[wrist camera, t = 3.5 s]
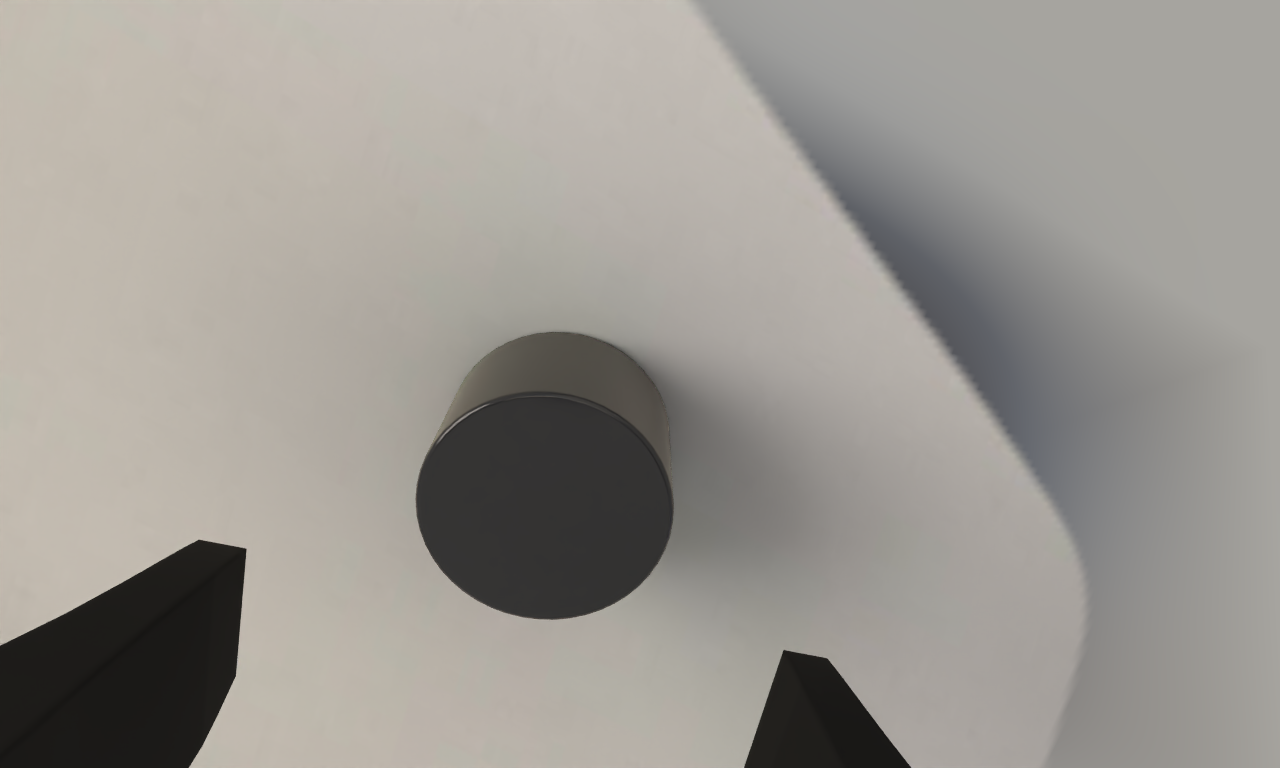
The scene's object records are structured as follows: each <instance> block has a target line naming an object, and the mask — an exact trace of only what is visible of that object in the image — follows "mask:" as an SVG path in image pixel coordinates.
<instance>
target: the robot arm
mask: <svg viewBox="0 0 1280 768" xmlns="http://www.w3.org/2000/svg"><path fill="white" fill-rule="evenodd" d="M245 560H246V549H245V548H240V547H235V546H229V545H224V544H219V543H214V542H208V541H203V540H198V541H196V542H194V543H192V544H190V545H188V546H186V547H184V548H183V549H181V550H179V551H177V552H175V553H174V554H172V555H170V556H168V557H166V558H165V559H163V560H161V561H159V562H158V563H156V564H154V565H152V566H151V567H149V568H147V569H145V570H144V571H142V572H140V573H138V574H137V575H135V576H133V577H131V578H130V579H128V580H126V581H124V582H123V583H121V584H119V585H117V586H115V587H113V588H112V589H110V590H108V591H106V592H104V593H102V594H101V595H99V596H97V597H95V598H93V599H91V600H90V601H88V602H86V603H84V604H82V605H80V606H79V607H77V608H75V609H73V610H71V611H69V612H68V613H66V614H64V615H62V616H60V617H58V618H56V619H54V620H52V621H50V622H48V623H46V624H44V625H41V626H39V627H37V628H35V629H33V630H31V631H29V632H27V633H25V634H23V635H21V636H19V637H17V638H15V639H13V640H11V641H9V642H7V643H5V644H3V645H1V646H0V768H189V766H190V765H191V763H192V762H193V760H194V758H195V757H196V755H197V754H198V752H199V750H200V749H201V747H202V745H203V743H204V741H205V739H206V737H207V735H208V733H209V731H210V729H211V727H212V725H213V723H214V721H215V719H216V717H217V715H218V713H219V711H220V709H221V707H222V704H223V702H224V700H225V698H226V696H227V694H228V692H229V689H230V687H231V685H232V683H233V681H234V679H235V677H236V668H237V656H238V644H239V632H240V620H241V608H242V596H243V584H244V572H245ZM744 768H911V767H910V765H909V764H908V763H907V762H906V760H905V759H904V758H903V757H902V755H901V754H900V753H899V752H898V750H897V749H896V748H895V746H894V745H893V744H892V743H891V741H890V740H889V739H888V737H887V736H886V735H885V734H884V732H883V731H882V730H881V728H880V727H879V726H878V724H877V723H876V722H875V720H874V719H873V718H872V716H871V715H870V714H869V712H868V711H867V710H866V708H865V707H864V706H863V704H862V703H861V702H860V700H859V699H858V698H857V696H856V695H855V694H854V692H853V691H852V690H851V688H850V687H849V686H848V684H847V683H846V682H845V680H844V679H843V678H842V676H841V675H840V674H839V673H838V671H837V670H836V669H835V667H834V666H833V665H832V664H831V663H830V661H829V660H828V659H827V658H823V657H817V656H812V655H807V654H801V653H796V652H791V651H786V650H784V651H783V654H782V656H781V659H780V662H779V665H778V668H777V671H776V674H775V677H774V680H773V683H772V686H771V689H770V692H769V695H768V698H767V701H766V704H765V707H764V710H763V713H762V716H761V719H760V722H759V725H758V728H757V731H756V734H755V737H754V740H753V743H752V746H751V749H750V752H749V755H748V758H747V761H746V764H745V766H744Z"/></svg>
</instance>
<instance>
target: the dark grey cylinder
mask: <svg viewBox="0 0 1280 768" xmlns="http://www.w3.org/2000/svg"><path fill="white" fill-rule="evenodd" d="M416 513H417V519H418V523H419V528H420V531H421V534H422V537H423V539H424V542H425V545H426V546H427V548H428V550H429V552H430V554H431V556H432V558H433V559H434V561H435V562H436V563H437V565H438V566H439V568H440V569H441V570H442V571H443V573H444V574H445V575H446V576H447V577H448V578H449V579H450V580H451V581H452V582H453V583H454V584H455V585H457V586H458V587H459V588H460V589H461V590H462V591H464V592H465V593H467V594H468V595H470V596H471V597H473V598H474V599H476V600H477V601H479V602H481V603H483V604H485V605H487V606H489V607H491V608H494V609H496V610H499V611H502V612H505V613H508V614H512V615H516V616H520V617H525V618H533V619H551V620H555V619H566V618H573V617H578V616H583V615H587V614H590V613H593V612H596V611H599V610H602V609H604V608H606V607H608V606H610V605H612V604H614V603H616V602H618V601H619V600H621V599H622V598H624V597H626V596H627V595H628V594H630V593H631V592H632V591H633V590H635V589H636V588H637V587H638V586H639V585H640V584H641V583H642V582H643V581H644V580H645V579H646V578H647V577H648V576H649V575H650V574H651V572H652V571H653V569H654V568H655V567H656V565H657V564H658V562H659V561H660V559H661V557H662V555H663V553H664V551H665V549H666V546H667V543H668V540H669V538H670V534H671V529H672V524H673V513H674V501H673V484H672V468H671V451H670V434H669V424H668V418H667V414H666V410H665V406H664V404H663V401H662V399H661V396H660V394H659V392H658V390H657V389H656V387H655V385H654V383H653V382H652V381H651V379H650V378H649V377H648V375H647V374H646V373H645V372H644V370H643V369H642V368H641V367H640V366H639V365H638V364H637V363H636V362H635V361H633V360H632V359H631V358H629V357H628V356H627V355H625V354H624V353H623V352H621V351H620V350H618V349H616V348H614V347H613V346H611V345H609V344H607V343H604V342H602V341H600V340H597V339H594V338H591V337H587V336H584V335H579V334H572V333H561V332H549V333H539V334H533V335H529V336H525V337H521V338H518V339H516V340H513V341H510V342H508V343H506V344H504V345H502V346H500V347H498V348H496V349H495V350H493V351H492V352H491V353H489V354H488V355H486V356H485V357H484V358H483V359H482V360H481V361H480V362H479V363H477V364H476V365H475V366H474V367H473V369H472V370H471V371H470V372H469V374H468V375H467V376H466V378H465V379H464V381H463V383H462V384H461V386H460V388H459V390H458V392H457V394H456V396H455V398H454V400H453V402H452V404H451V406H450V408H449V410H448V412H447V414H446V416H445V418H444V420H443V422H442V424H441V426H440V428H439V430H438V432H437V434H436V436H435V438H434V440H433V442H432V444H431V446H430V448H429V450H428V453H427V455H426V457H425V459H424V462H423V464H422V467H421V469H420V473H419V477H418V481H417V488H416Z"/></svg>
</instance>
